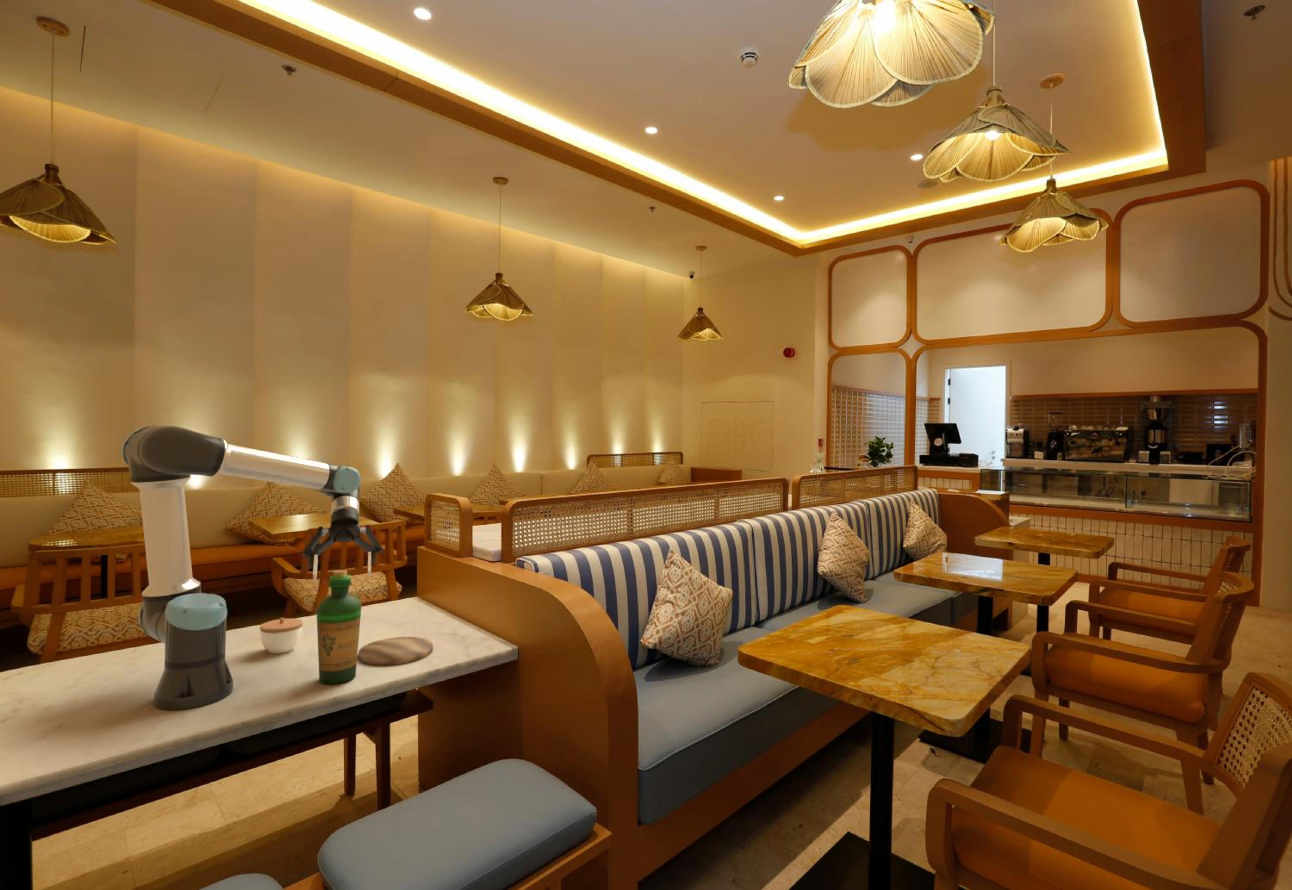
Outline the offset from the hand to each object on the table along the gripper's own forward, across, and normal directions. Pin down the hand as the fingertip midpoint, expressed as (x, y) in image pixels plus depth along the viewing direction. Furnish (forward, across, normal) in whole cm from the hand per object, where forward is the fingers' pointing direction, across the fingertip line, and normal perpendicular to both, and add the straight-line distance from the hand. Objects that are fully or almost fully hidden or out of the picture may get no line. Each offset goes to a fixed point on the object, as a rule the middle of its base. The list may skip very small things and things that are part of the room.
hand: (342, 575), depth 167 cm
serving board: (+15, -14, -20) cm, 29 cm away
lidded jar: (+5, +16, -30) cm, 34 cm away
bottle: (+26, 0, -9) cm, 27 cm away
